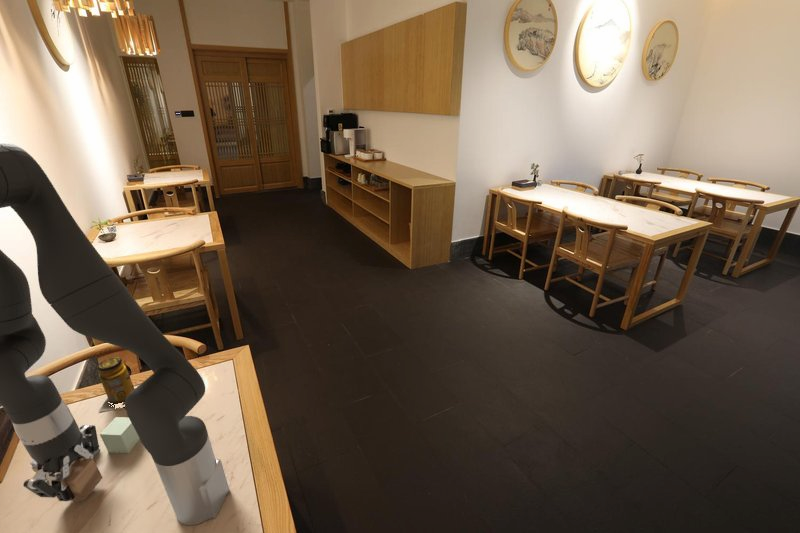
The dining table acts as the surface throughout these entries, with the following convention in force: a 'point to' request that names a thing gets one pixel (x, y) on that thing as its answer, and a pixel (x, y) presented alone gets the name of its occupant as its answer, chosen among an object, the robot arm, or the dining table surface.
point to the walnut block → (83, 478)
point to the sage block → (120, 435)
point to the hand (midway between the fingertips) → (80, 485)
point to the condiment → (114, 382)
